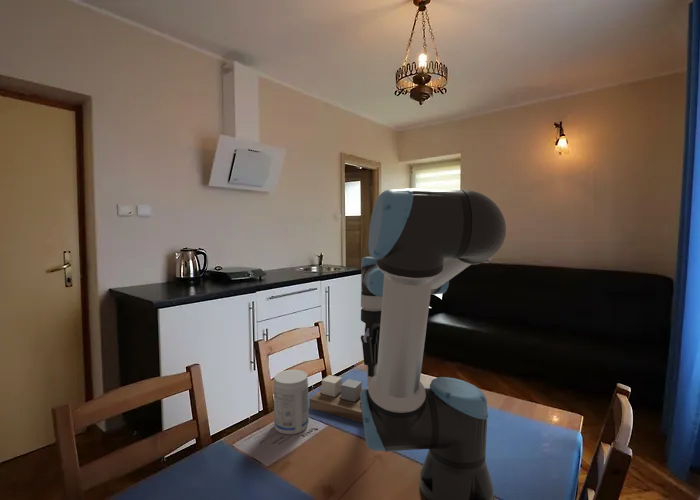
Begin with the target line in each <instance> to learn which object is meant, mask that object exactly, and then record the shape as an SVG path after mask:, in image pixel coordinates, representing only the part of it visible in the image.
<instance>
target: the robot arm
mask: <svg viewBox="0 0 700 500" xmlns="http://www.w3.org/2000/svg"><path fill="white" fill-rule="evenodd" d="M499 207H500V206H498V205H497V204H496V202H494V201H493V200H492V199H491V198H490V197H487V195H484V194H483V193H480V192H478V191H475V190H470V189H431V188H410V187H406V188H396V189H395V188H394V189H387V190H384V191H382V192H381V193H380V194H379V195H378V197H377V198H376V201H375V203H374V206H373V209H372V212H371V213H372V214H371V216H370V222H369V223H370V224H369V228H368V242H367V245H368V253H369V256H364V257H363V258H362V259H361V266H360V270H361V271H360V272H361V273H360V277H361V279H360V281H361V284H360V285H361V286H360V287H361V288H360V290H361V291H360V293H361V294H360V308H361V309H360V322H362V323H364V324H365V325H364V334H362V335H361V336H360V341H361V346H362V355H363V364H364V366H367V379H366V380H367V385H366V386H367V389H366V388H364V389H365V390H362V391H361V392H360V400H361V409H362V417H363V431H364V438H365V444H366V446H367V448H368V449H369V450H371V451H373V452H374V451H375V452H386V453H387V452H396V451H397V452H398V451H416V450H417V451H419V450H428V451H427V454H426V457H425V459H424V461H423V464H422V467H421V469H420V474H419V487H420V488H419V489H420V491H421V494H422V496H423V497H424V498H425V499H426V500H494V487H493V485H494V484H493V482H492V479H491V476H490V471H489V469H488V466H487V462H486V457H487V456H486V453H487V452H486V451H487V430H488V418H489V413H488V399H487V397H486V395H485V394H484V392H483V390H481V389H480V388H479V387H478V386H476V385H474V384H472V383H469V382H467V381H466V380H462V379H458V378H455V377H450V376H439V377H436V378H433V379H432V380H431V382H430V383H429V387H428V388H427V387H426V388H425V386H424V385H423V383H422V382H421V375H422V367H423V359H424V358H423V357H424V350H425V343H426V334H427V326H428V325H427V324H428V317H429V312H430V311H429V309H430V302H431V295H433V296H435V295H443V294H445V293H446V292H447V291H448V288H449V285H450V280H452V279H453V278H454V277H455V276H457V275H459V274H460V273H461V272H464V270H465V269H466V268H469V267H470V266H471V265H479V264H482V263H484V262H486V261H487V260H490V259H491V258H492V257H493V256H494V255H495V254H497V253H498V251H499V250H500V249H501V248H502V246H503V244H504V242H505V238H506V235H507V225H506V219H505V217H504V214H503V212H502V211H501V209H500V208H499Z"/></svg>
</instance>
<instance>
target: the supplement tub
mask: <svg viewBox="0 0 700 500" xmlns="http://www.w3.org/2000/svg"><path fill="white" fill-rule="evenodd" d="M273 414H274V415H273V418H274V419H273V420H274V422H273V423H274V424H273V425H274V428H275V430H276V431H277V432H278V433H279V434H282V435H296V434H298V433H299V434H300V433H301V432H303V431H304V430H305V429H306V428H308V425H309V379H308V374H307V372H306V371H303V370H300V369H286V370H281V371H280V372H277V373H276V374H275V375H274V378H273Z"/></svg>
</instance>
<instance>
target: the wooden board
mask: <svg viewBox="0 0 700 500" xmlns="http://www.w3.org/2000/svg"><path fill="white" fill-rule="evenodd" d="M365 389H366V388H362V390H365ZM309 409H312V410H314V411H315V410H316V411H318V412H322V413H326V414H331V415H333V416H337V417H339V418H344V419H348V420H351V421H355V422H359V423H363V417H362V409H361V400H360V398H359V399H358V400H357V401H356V402H353V401H349V400H345V399H341V392H340V393H339V394H338V395H337V396H335V397H333V396H329V395H325V394H322V388H321V389H320V390H319V391H317V392H316V393H315V394H314V395H312V396H311V397H309Z"/></svg>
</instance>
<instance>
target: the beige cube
mask: <svg viewBox="0 0 700 500" xmlns="http://www.w3.org/2000/svg"><path fill="white" fill-rule="evenodd" d="M342 384H343V377H341V376H336V375H331V374H328V375H327V376H326V377H323V378H322V380H321V389H322V394H325V395H328V396H329V397H333V398H336V397H335V396H337V395H338V394H339V393H340V392H341V385H342Z"/></svg>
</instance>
